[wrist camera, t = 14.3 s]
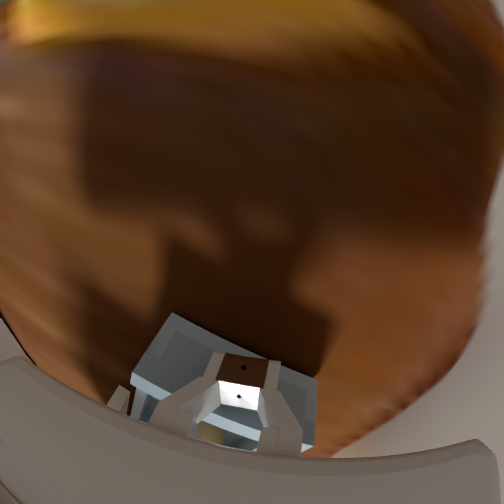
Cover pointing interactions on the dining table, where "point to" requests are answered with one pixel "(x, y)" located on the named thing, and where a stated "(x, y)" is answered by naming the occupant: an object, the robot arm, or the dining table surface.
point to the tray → (193, 366)
